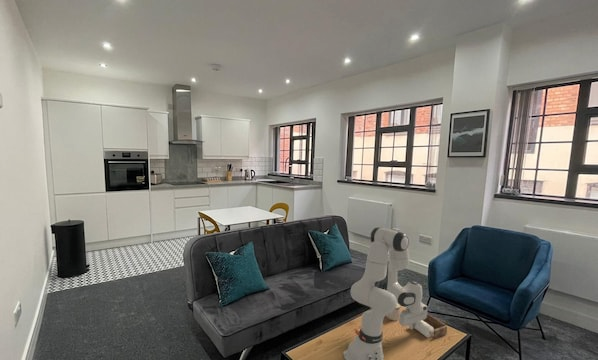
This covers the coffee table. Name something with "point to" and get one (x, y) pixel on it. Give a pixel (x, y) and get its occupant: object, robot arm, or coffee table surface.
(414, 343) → the coffee table surface
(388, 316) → the teacup with lid
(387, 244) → the robot arm
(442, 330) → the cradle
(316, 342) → the coffee table surface
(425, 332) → the roll
